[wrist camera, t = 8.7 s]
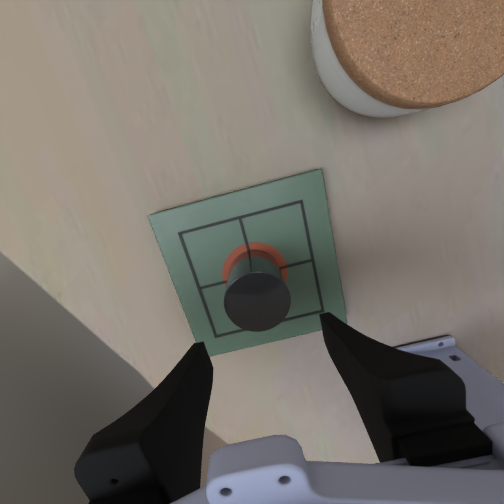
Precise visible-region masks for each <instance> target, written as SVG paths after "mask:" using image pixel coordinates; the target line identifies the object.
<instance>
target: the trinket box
mask: <svg viewBox="0 0 504 504" xmlns="http://www.w3.org/2000/svg"><path fill="white" fill-rule="evenodd" d="M310 35H311V49H312V54H313V60H314V63H315V66H316V69H317V72H318V75H319V77H320V79H321V81H322V83H323V85H324V87H325V88H326V90H327V91H328V92H329V94H330V95H331V96H332V97H333V98H334V99H335V100H336V101H337V102H338V103H339V104H341V105H342V106H344V107H345V108H347V109H348V110H350V111H353V112H355V113H357V114H360V115H364V116H369V117H389V118H390V117H397V116H403V115H409V114H413V113H417V112H420V111H423V110H426V109H429V108H434V107H439V106H442V105H445V104H449V103H452V102H455V101H458V100H461V99H463V98H466V97H468V96H470V95H472V94H474V93H476V92H478V91H480V90H482V89H484V88H485V87H487V86H488V85H490V84H491V83H493V82H494V81H496V80H497V79H499V78H500V77H501V76H502V75H503V74H504V0H313V4H312V14H311V30H310Z"/></svg>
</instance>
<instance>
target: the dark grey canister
mask: <svg viewBox="0 0 504 504" xmlns="http://www.w3.org/2000/svg"><path fill="white" fill-rule="evenodd" d="M290 305H291V297H290V293H289V290H288V287H287V285H286V282H285V279H284V277H283V274H282V272H281V269H280V266H279V264H278V262H277V261H276V259H275V258H274V257H273V256H272V255H270V254H269V253H267V252H264V251H261V250H249V251H246V252H243V253H241V254H240V255H238V256H237V257H236V258H235V259H234V260H233V262H232V264H231V265H230V268H229V274H228V279H227V284H226V290H225V295H224V308H225V312H226V314H227V316H228V318H229V319H230V320H231V321H232V322H233V323H234V324H235V325H236V326H238V327H240V328H242V329H244V330H247V331H252V332H262V331H266V330H270V329H272V328H274V327H276V326H277V325H279V324H280V323H281V322H282V321H283V320H284V319H285V317H286V316H287V314H288V312H289V309H290Z"/></svg>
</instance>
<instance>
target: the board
mask: <svg viewBox="0 0 504 504" xmlns="http://www.w3.org/2000/svg"><path fill="white" fill-rule="evenodd" d="M148 218H149V221H150V224H151V226H152V229H153V231H154V234H155V237H156V239H157V242H158V244H159V247H160V250H161V252H162V255H163V257H164V260H165V263H166V265H167V268H168V271H169V273H170V276H171V278H172V281H173V284H174V286H175V289H176V291H177V294H178V297H179V299H180V302H181V304H182V307H183V310H184V312H185V315H186V317H187V320H188V323H189V325H190V328H191V330H192V333H193V336H194V338H195V341H196V343H198V342H202V341H204V344H205V346H206V349H207V352H208V355H209V357H210V356H214V355H218V354H222V353H227V352H231V351H235V350H239V349H244V348H248V347H252V346H256V345H261V344H265V343H269V342H273V341H277V340H282V339H286V338H290V337H294V336H299V335H303V334H307V333H311V332H316V331H320V330H322V326H321V321H320V316H319V314H322V313H326V312H330V313H332V314H333V315H334V316H336V317H337V318H338V319H340V320H341V321H343V322H344V323H346V324H347V318H346V312H345V306H344V300H343V294H342V288H341V282H340V276H339V270H338V264H337V258H336V252H335V246H334V240H333V234H332V228H331V222H330V216H329V210H328V204H327V198H326V192H325V186H324V180H323V174H322V169H316V170H312V171H308V172H305V173H301V174H297V175H293V176H290V177H286V178H282V179H279V180H275V181H271V182H267V183H264V184H260V185H256V186H253V187H249V188H245V189H241V190H238V191H234V192H230V193H227V194H223V195H219V196H215V197H212V198H208V199H204V200H201V201H197V202H193V203H189V204H186V205H182V206H178V207H175V208H171V209H167V210H163V211H160V212H156V213H153V214H150V215H148ZM249 250H261V251H264V252H267V253H269V254H270V255H272V256H273V257H274V258H275V259H276V261H277V262H278V264H279V266H280V269H281V272H282V274H283V277H284V279H285V282H286V285H287V287H288V290H289V293H290V297H291V305H290V309H289V312H288V314H287V316H286V317H285V319H284V320H283V321H282V322H281V323H280V324H279V325H277V326H276V327H274V328H272V329H270V330H266V331H262V332H252V331H247V330H244V329H242V328H240V327H238V326H236V325H235V324H234V323H233V322H232V321H231V320H230V319H229V318H228V316H227V314H226V312H225V308H224V295H225V290H226V284H227V279H228V274H229V268H230V265H231V264H232V262H233V260H234V259H235V258H236V257H237V256H238V255H240V254H241V253H243V252H246V251H249Z"/></svg>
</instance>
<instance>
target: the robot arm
mask: <svg viewBox="0 0 504 504" xmlns="http://www.w3.org/2000/svg"><path fill="white" fill-rule="evenodd" d="M319 316H320V321H321V326H322V331H323V337H324V342H325V345H326V347H327V350H328V352H329V354H330V357H331V359H332V361H333V363H334V364H335V366H336V368H337V370H338V372H339V373H340V375H341V377H342V379H343V381H344V383H345V384H346V386H347V388H348V390H349V392H350V394H351V396H352V398H353V400H354V402H355V404H356V406H357V409H358V411H359V413H360V416H361V418H362V420H363V423H364V425H365V427H366V430H367V432H368V434H369V437H370V439H371V442H372V444H373V447H374V449H375V451H376V454H377V456H378V459H379V461H380V463H376V464H363V463H343V462H323V461H306V460H305V458H304V455H303V451H302V448H301V446H300V445H299V443H298V442H297V440H296V439H294V438H291V437H289V436H287V435H272V436H267V437H262V438H258V439H253V440H248V441H243V442H239V443H234V444H229V445H226V446H223V447H221V448H219V449H217V450H215V452H214V453H213V454H212V456H211V457H210V461H209V468H208V476H207V483H206V486H204V487H202V488H200V479H201V461H202V448H203V436H204V428H205V421H206V416H207V411H208V406H209V400H210V395H211V390H212V383H213V366H212V363H211V360H210V357H209V355H208V352H207V349H206V346H205V344H204V341H202V342H198V343H194V344H193V345H192V346H191V348H190V349H189V350H188V351H187V353H186V354H185V355H184V356H183V358H182V359H181V360H180V361H179V363H178V364H177V365H176V366H175V367H174V369H173V370H172V371H171V372H170V373H169V374H168V375H167V377H166V378H165V379H164V380H163V381H162V382H161V383H160V384H159V385H158V386H157V387H156V388H155V389H154V390H153V391H152V392H151V393H150V394H149V395H148V396H146V398H144V399H143V400H142V401H141V402H139V403H138V404H137V405H136V406H135V407H134V408H132V409H131V410H130V411H128V412H127V413H126V414H125V415H123V416H122V417H120V418H119V419H117V420H116V421H115V422H113V423H111V424H110V425H108V426H107V427H105V428H104V429H102V430H100V431H99V432H97V433H96V434H94V435H93V436H92V438H91V439H90V441H89V443H88V444H87V446H86V447H85V449H84V451H83V452H82V454H81V456H80V457H79V459H78V461H77V462H76V465H75V468H74V472H75V477H76V479H77V481H78V483H79V485H80V486H81V488H82V489H83V491H84V492H85V494H86V495H87V497H88V498H89V500H90V502H89V504H504V384H503V383H502V382H501V381H499V380H498V379H497V378H496V377H494V376H493V375H492V374H491V373H489V372H488V371H487V370H485V369H484V368H483V367H482V366H480V365H479V364H478V363H477V362H475V361H474V360H473V359H472V358H470V357H469V356H468V355H467V354H465V353H464V352H463V351H462V350H460V349H459V348H458V347H456V341H455V339H454V338H453V337H452V336H446V337H441V338H437V339H432V340H428V341H424V342H419V343H415V344H411V345H406V346H402V347H398V348H393V347H390V346H388V345H385V344H383V343H380V342H378V341H376V340H374V339H371V338H369V337H367V336H365V335H363V334H362V333H360V332H358V331H357V330H355V329H353V328H352V327H350V326H349V325H347V324H346V323H344V322H343V321H341V320H340V319H338V318H337V317H336V316H334V315H333V314H332V313H330V312H326V313H322V314H319Z"/></svg>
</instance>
